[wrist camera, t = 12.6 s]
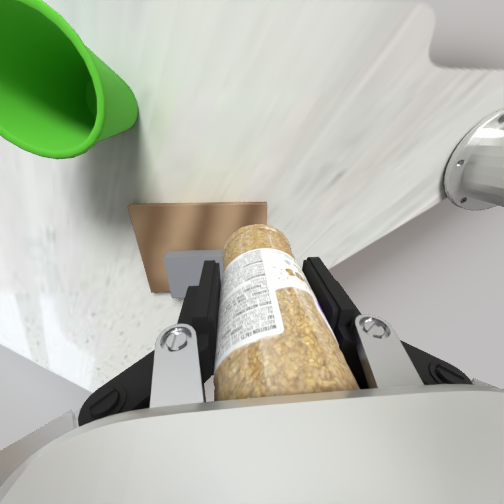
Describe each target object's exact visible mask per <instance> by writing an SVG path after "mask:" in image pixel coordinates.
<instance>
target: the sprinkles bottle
mask: <svg viewBox="0 0 504 504" xmlns="http://www.w3.org/2000/svg"><path fill="white" fill-rule="evenodd" d="M222 259H223V265H224V268H223V276H222V280H221V290H220V301H219V313H218V327H217V340H216V353H215V366H214V386H215V390H214V398H215V399H214V401H224V400H236V399H248V398H260V397H272V396H284V395H297V394H309V393H322V392H334V391H347V390H360V388H359V386H358V384H357V382H356V380H355V378H354V376H353V374H352V372H351V370H350V368H349V367H348V365H347V363H346V361H345V358H344V356H343V353H342V352H341V351H340V349H339V344H338V342H337V340H336V338H335V335H334V333H333V331H332V329H331V327H330V325H329V323H328V321H327V319H326V317H325V315H324V313H323V311H322V309H321V307H320V305H319V303H318V301H317V299H316V297H315V295H314V293H313V291H312V289H311V287H310V285H309V283H308V281H307V279H306V277H305V275H304V273H303V271H302V269H301V267H300V266H299V264H298V263H297V261H296V260H295V258H294V256H293V254H292V252H291V248H290V244H289V242H288V240H287V238H286V237H285V236H284V235H283V234H282V233H281V232H280V231H278V230H277V229H275V228H274V227H272V226H268V225H264V224H254V225H248V226H245V227H241V228H240V229H238V230H237V231H236V232H234V233H233V234H232V235H231V236H230V237H229V238H228V240H227V241H226V243H225V245H224V248H223V254H222Z"/></svg>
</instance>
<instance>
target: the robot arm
mask: <svg viewBox="0 0 504 504" xmlns="http://www.w3.org/2000/svg"><path fill="white" fill-rule="evenodd" d="M444 186H445V192H446V194H447V197H448V198H449V200H450V201H451V202H452V203H453V204H455V205H456V206H459V207H462V208H464V209H468V210H484V209H489V208H491V207H494V206H497V205H499V206H503V207H504V109H502V110H499V111H497V112H495V113H493V114H492V115H490V116H488V117H486V118H485V119H484V120H482V121H481V122H480V123H478V124H477V125H476V126H475V127H474V128H473V129H472V130H471V131H470V132H469V133H468V134H467V135H466V136H465V137H464V138H463V140H462V141H461V142H460V143H459V145H458V146H457V148H456V149H455V151H454V153H453V154H452V156H451V159H450V161H449V163H448V165H447V169H446V173H445V180H444ZM302 271H303V273H304V275H305V277H306V279H307V281H308V283H309V285H310V287H311V289H312V291H313V293H314V295H315V297H316V299H317V301H318V303H319V305H320V307H321V309H322V311H323V313H324V315H325V317H326V319H327V321H328V323H329V325H330V327H331V329H332V331H333V333H334V335H335V338H336V340H337V342H338V344H339V349H340V351H341V352H342V353H343V356H344V358H345V361H346V363H347V365H348V367H349V368H350V370H351V372H352V374H353V376H354V378H355V380H356V382H357V384H358V386H359V388H360V390H347V391H334V392H322V393H309V394H297V395H284V396H272V397H260V398H248V399H236V400H224V401H213V402H206V397H205V389H204V383H205V382H206V381H207V380H208V379H209V378H210V377H211V375H214V366H215V353H216V340H217V327H218V313H219V301H220V290H221V278H220V264H219V263H216V262H215V260H205V261H204V264H203V268H202V273H201V277H200V282H199V286H188V288H187V292H186V295H185V299H184V302H183V306H182V309H181V312H180V316H179V319H178V323H177V324H175V325H172V326H169V327H168V328H166V329H164V330H163V331H162V332H161V333H160V334H159V336H158V337H157V340H156V343H155V350H154V351H152V352H151V353H149V354H148V355H146V356H145V357H143V358H142V359H141V360H139V361H138V362H136V363H135V364H133V365H132V366H131V367H129V368H128V369H126V370H125V371H123V372H122V373H120V374H119V375H118V376H116V377H115V378H113V379H112V380H110V381H109V382H107V383H106V384H105V385H103V386H102V387H100V388H99V389H97V390H96V391H95V392H94V393H93V394H92V395H91V396H90V397H89V398H88V399H87V400H86V401H85V402H84V404H83V406H82V408H81V409H79V410H77V411H76V412H74V413H73V411H72V410H70V411H69V412H67V413H65V414H63V415H62V416H60V417H58V418H57V419H55V420H53V421H51V422H49V423H48V424H46V425H44V426H43V427H41V428H39V429H37V430H36V431H34V432H32V433H31V434H29V435H27V436H25V437H23V438H22V439H20V440H18V441H17V442H15V443H13V444H11V445H9V446H8V447H6V448H4V449H3V450H1V451H0V504H504V389H499V388H497V387H495V386H492V385H489V384H487V383H484V382H481V381H479V380H476V379H472V381H471V380H470V379H469V378H468V377H467V376H466V375H465V374H464V373H463V372H462V371H460V370H459V369H458V368H456V367H454V366H452V365H451V364H449V363H447V362H445V361H443V360H440V359H439V358H436V357H434V356H432V355H430V354H428V353H426V352H424V351H422V350H420V349H418V348H415V347H413V346H411V345H409V344H407V343H405V342H403V341H401V340H399V338H398V337H397V334H396V333H395V331H394V329H393V328H392V326H391V325H390V324H389V323H388V322H386V321H385V320H383V319H382V318H380V317H377V316H375V315H370V314H363V315H362V314H361V313H360V312H359V310H358V309H357V307H356V306H355V305H354V303H353V302H352V301H351V299H350V298H349V296H348V295H347V294H346V292H345V291H344V289H343V288H342V287H341V285H340V284H339V283H338V281H336V280H335V279H334V278H333V276H332V275H331V273H330V272H329V271H328V269H327V268H326V266H325V265H324V263H323V262H322V261H321V259H320V258H319V257H308V258H307V260H304V262H303V268H302Z"/></svg>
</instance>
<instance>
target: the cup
mask: <svg viewBox="0 0 504 504" xmlns="http://www.w3.org/2000/svg"><path fill="white" fill-rule="evenodd" d="M137 116H138V106H137V101H136V98H135V96H134V94H133V92H132V90H131V89H130V87H129V86H128V85H127V84H126V83H125V81H123V80H122V79H121V78H120V77H119V76H118V75H117V74H116V73H115V72H114V71H113V70H111V69H110V68H109V67H108V66H107V65H106V64H105V63H104V62H103V61H102V60H101V59H99V58H98V57H97V56H96V55H95V54H94V53H93V52H92V51H91V50H90V49H89V48H87V47H86V46H85V45H84V43H83V42H82V40H81V39H80V37H79V36H78V34H77V33H76V32H75V31H74V30H73V29H72V28H71V27H70V25H69V24H68V23H67V22H66V21H65V20H64V19H63V18H62V16H61V15H59V14H58V13H57V12H56V11H54V10H53V9H52V8H51V7H49V6H48V5H47V4H46V3H44V2H43V1H42V0H0V136H2V137H3V138H4V139H6V140H7V141H9V142H11V143H13V144H14V145H16V146H18V147H19V148H21V149H23V150H25V151H28V152H31V153H33V154H36V155H39V156H41V157H47V158H53V159H66V158H74V157H76V156H79V155H81V154H84V153H86V152H87V151H88V150H89V149H90V148H92V147H93V146H94V145H95V144H96V143H97V142H99V141H101V140H104V139H106V138H109V137H111V136H114V135H116V134H118V133H121V132H123V131H126V130H128V129H130V128H131V127H132V126H133V125H134V123H135V122H136V119H137Z"/></svg>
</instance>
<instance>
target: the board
mask: <svg viewBox="0 0 504 504" xmlns="http://www.w3.org/2000/svg"><path fill="white" fill-rule="evenodd" d="M127 207H128V210H129V214H130V218H131V221H132V225H133V228H134V232H135V236H136V239H137V243H138V246H139V250H140V253H141V257H142V261H143V264H144V268H145V271H146V275H147V278H148V282H149V286H150V289H151V293H152V292H171V291H170V287H169V282H168V278H167V273H166V269H165V265H164V260H163V257H164V255H165V254H166V252H167V251H183V250H223V248H224V245H225V243H226V241H227V240H228V238H229V237H230V236H231V235H232V234H233V233H234V232H236V231H237V230H238V229H240V228H241V227H245V226H248V225H254V224H264V225H266V222H267V203H266V202H227V203H150V204H130V205H129V206H127Z"/></svg>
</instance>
